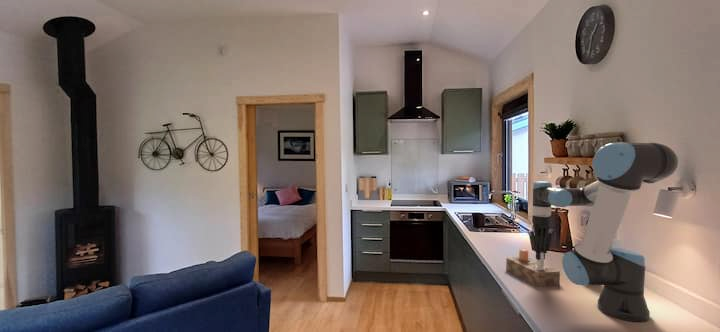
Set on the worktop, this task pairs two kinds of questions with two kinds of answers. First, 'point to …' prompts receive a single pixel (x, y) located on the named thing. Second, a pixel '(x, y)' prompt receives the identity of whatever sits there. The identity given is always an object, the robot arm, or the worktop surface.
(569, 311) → the worktop surface
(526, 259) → the terracotta plug
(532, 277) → the walnut plug block
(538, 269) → the white oval piece
